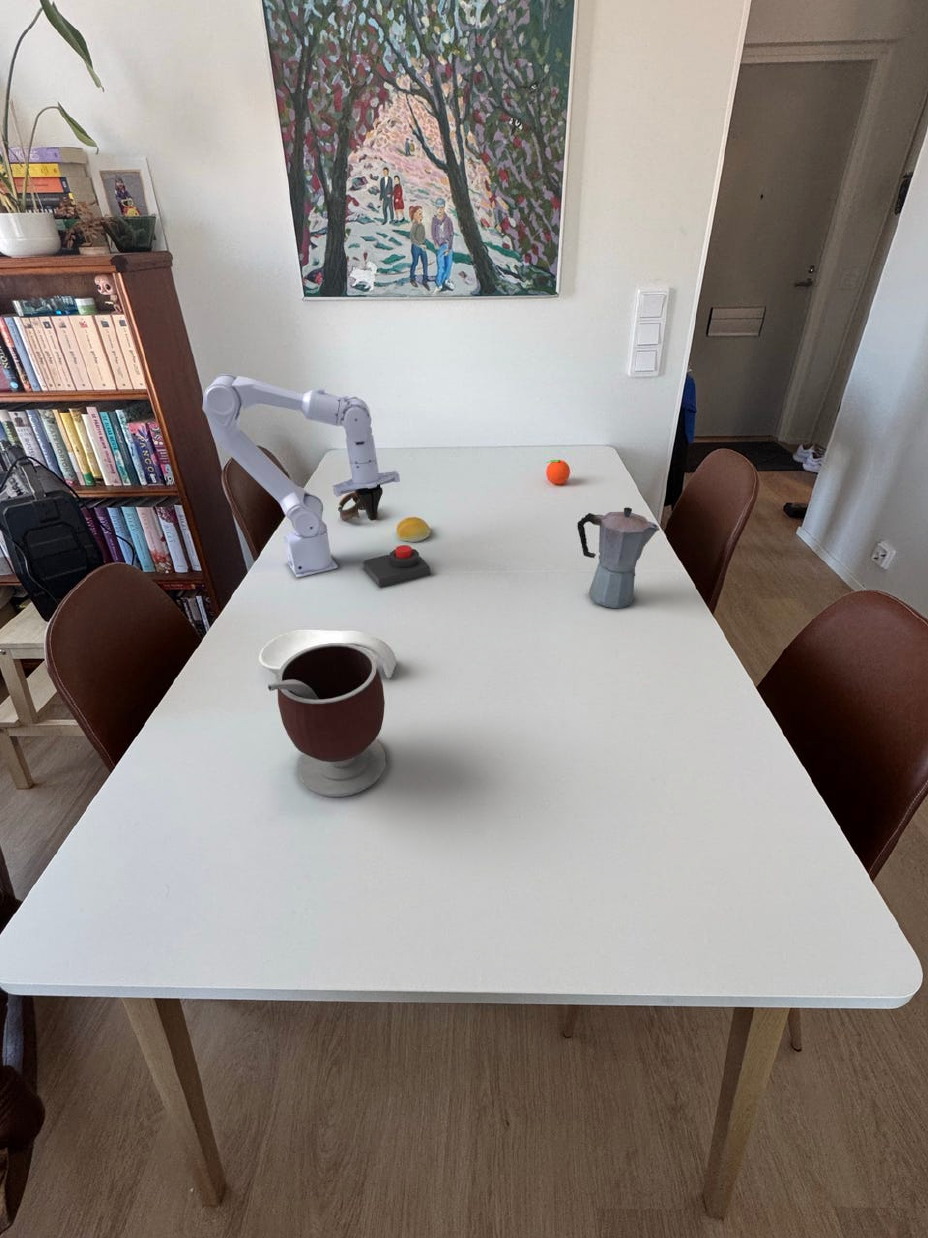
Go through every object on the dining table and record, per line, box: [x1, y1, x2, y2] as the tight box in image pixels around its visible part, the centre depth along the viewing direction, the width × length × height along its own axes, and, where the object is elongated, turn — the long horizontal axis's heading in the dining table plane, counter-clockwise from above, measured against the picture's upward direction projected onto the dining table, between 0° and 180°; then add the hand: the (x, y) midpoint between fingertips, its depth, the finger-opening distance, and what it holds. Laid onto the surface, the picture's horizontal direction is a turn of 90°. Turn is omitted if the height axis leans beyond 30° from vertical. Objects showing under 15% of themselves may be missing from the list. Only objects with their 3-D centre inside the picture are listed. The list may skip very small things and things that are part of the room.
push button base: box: [362, 548, 431, 589], centre depth 139 cm, size 12×10×4 cm
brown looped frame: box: [337, 492, 380, 521], centre depth 165 cm, size 12×10×8 cm
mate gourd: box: [267, 643, 387, 798], centre depth 85 cm, size 16×14×20 cm
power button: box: [394, 544, 413, 559], centre depth 139 cm, size 4×4×2 cm
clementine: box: [545, 459, 571, 485], centre depth 183 cm, size 8×7×7 cm
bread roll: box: [395, 516, 432, 543], centre depth 155 cm, size 8×9×4 cm
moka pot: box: [576, 506, 660, 609], centre depth 124 cm, size 10×15×20 cm, turn 78°
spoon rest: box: [258, 629, 397, 679], centre depth 109 cm, size 24×12×7 cm, turn 83°
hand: (372, 518), depth 140 cm, fingers closed
